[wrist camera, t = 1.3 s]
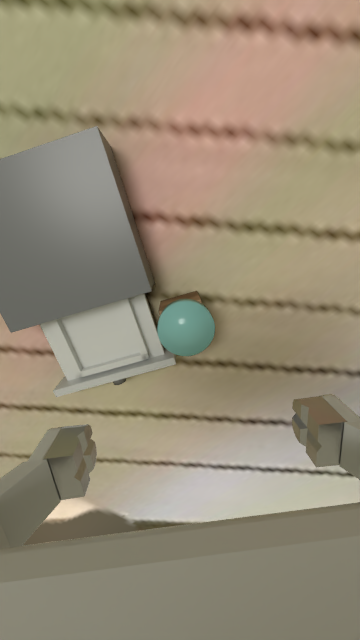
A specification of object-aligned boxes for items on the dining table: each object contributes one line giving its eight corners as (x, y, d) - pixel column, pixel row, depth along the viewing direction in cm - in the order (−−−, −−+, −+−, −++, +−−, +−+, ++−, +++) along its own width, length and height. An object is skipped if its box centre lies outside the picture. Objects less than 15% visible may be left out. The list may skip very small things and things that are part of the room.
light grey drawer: (139, 241, 31) (135, 241, 28) (177, 358, 36) (178, 370, 33) (15, 279, 32) (-3, 284, 29) (69, 388, 37) (59, 403, 34)
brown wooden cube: (196, 290, 33) (200, 299, 28) (206, 324, 35) (211, 338, 30) (160, 301, 34) (158, 311, 29) (171, 334, 35) (171, 349, 30)
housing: (110, 146, 28) (96, 125, 23) (154, 283, 33) (151, 291, 28) (-29, 192, 29) (-70, 182, 24) (34, 319, 34) (10, 332, 29)
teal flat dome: (205, 291, 28) (206, 294, 27) (218, 342, 30) (220, 347, 29) (150, 307, 29) (149, 311, 27) (167, 356, 31) (167, 362, 29)
